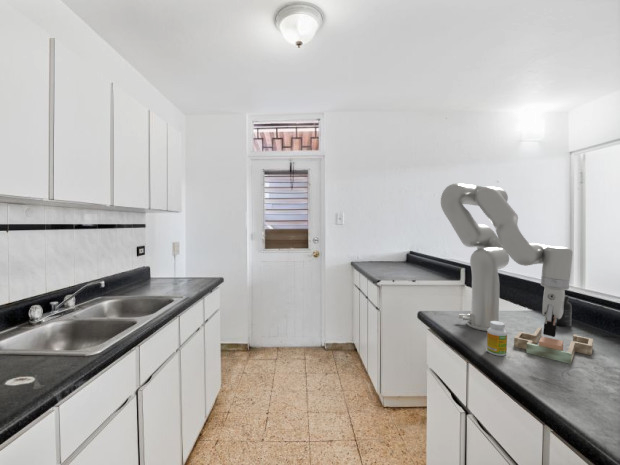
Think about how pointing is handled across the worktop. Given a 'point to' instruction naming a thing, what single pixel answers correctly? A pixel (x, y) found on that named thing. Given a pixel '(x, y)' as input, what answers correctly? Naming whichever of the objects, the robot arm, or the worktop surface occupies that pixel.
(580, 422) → the worktop surface
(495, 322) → the supplement bottle
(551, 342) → the terracotta block
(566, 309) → the supplement bottle
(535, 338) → the trap lane
